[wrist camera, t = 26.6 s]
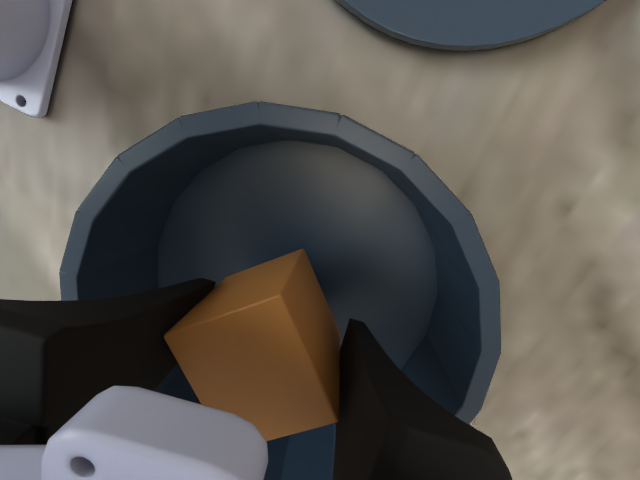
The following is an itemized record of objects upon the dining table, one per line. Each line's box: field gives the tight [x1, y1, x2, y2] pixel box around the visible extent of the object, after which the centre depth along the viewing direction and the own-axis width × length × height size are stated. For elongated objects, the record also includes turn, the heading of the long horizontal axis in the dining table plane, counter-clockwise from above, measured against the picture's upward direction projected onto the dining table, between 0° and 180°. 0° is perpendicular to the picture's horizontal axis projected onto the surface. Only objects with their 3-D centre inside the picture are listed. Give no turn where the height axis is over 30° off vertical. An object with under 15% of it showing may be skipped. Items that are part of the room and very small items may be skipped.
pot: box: [59, 101, 501, 480], centre depth 14 cm, size 16×16×5 cm
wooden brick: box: [164, 249, 341, 441], centre depth 11 cm, size 4×5×5 cm
